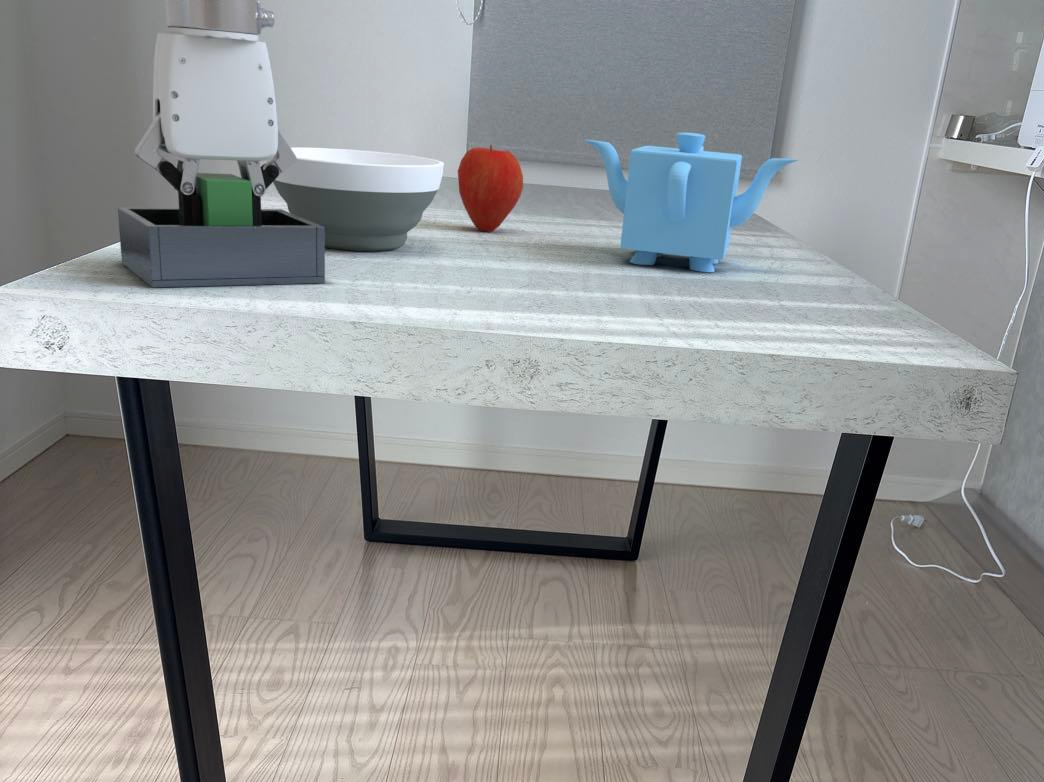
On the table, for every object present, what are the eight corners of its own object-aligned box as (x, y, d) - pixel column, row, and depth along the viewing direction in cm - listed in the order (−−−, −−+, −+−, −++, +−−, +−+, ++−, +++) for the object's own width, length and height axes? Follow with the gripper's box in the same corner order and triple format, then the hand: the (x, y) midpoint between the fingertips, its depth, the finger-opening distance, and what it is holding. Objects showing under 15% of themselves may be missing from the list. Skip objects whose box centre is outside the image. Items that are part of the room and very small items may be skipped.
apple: (530, 232, 142) (537, 147, 138) (497, 237, 135) (503, 148, 131) (477, 224, 146) (482, 141, 142) (442, 228, 139) (446, 141, 135)
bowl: (447, 262, 114) (451, 170, 110) (260, 252, 111) (258, 156, 107) (434, 236, 132) (437, 155, 128) (273, 227, 128) (272, 143, 125)
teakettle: (664, 278, 116) (682, 136, 111) (568, 249, 131) (579, 122, 125) (785, 274, 126) (808, 144, 121) (684, 248, 140) (700, 130, 135)
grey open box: (152, 287, 90) (148, 226, 88) (121, 263, 99) (117, 207, 97) (325, 283, 98) (325, 226, 96) (282, 261, 107) (281, 209, 105)
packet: (254, 272, 97) (251, 181, 94) (210, 273, 95) (206, 180, 92) (234, 260, 102) (231, 173, 99) (192, 261, 100) (187, 172, 97)
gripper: (292, 29, 97) (295, 232, 105) (99, 9, 89) (116, 232, 96) (322, 29, 92) (323, 245, 99) (119, 8, 83) (136, 246, 90)
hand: (221, 236), depth 97 cm, fingers open, 4 cm apart
